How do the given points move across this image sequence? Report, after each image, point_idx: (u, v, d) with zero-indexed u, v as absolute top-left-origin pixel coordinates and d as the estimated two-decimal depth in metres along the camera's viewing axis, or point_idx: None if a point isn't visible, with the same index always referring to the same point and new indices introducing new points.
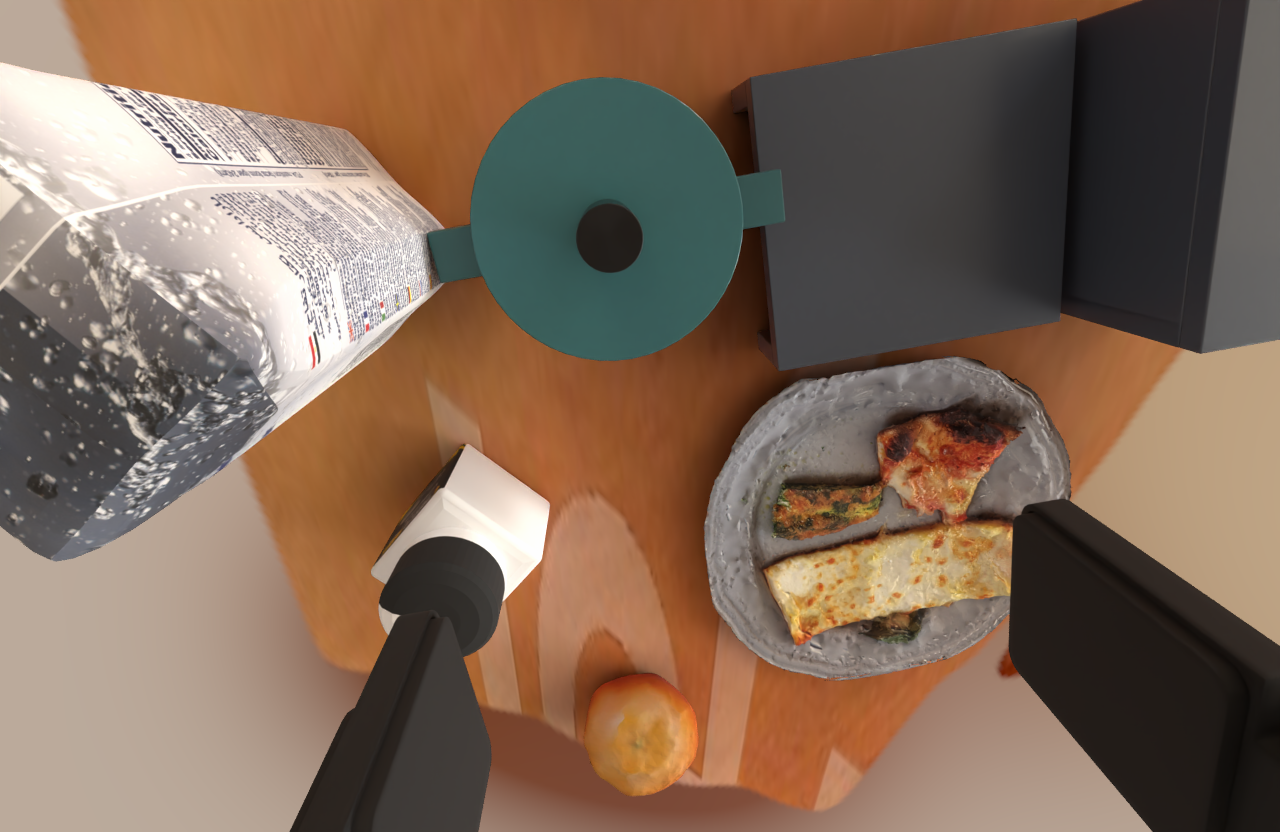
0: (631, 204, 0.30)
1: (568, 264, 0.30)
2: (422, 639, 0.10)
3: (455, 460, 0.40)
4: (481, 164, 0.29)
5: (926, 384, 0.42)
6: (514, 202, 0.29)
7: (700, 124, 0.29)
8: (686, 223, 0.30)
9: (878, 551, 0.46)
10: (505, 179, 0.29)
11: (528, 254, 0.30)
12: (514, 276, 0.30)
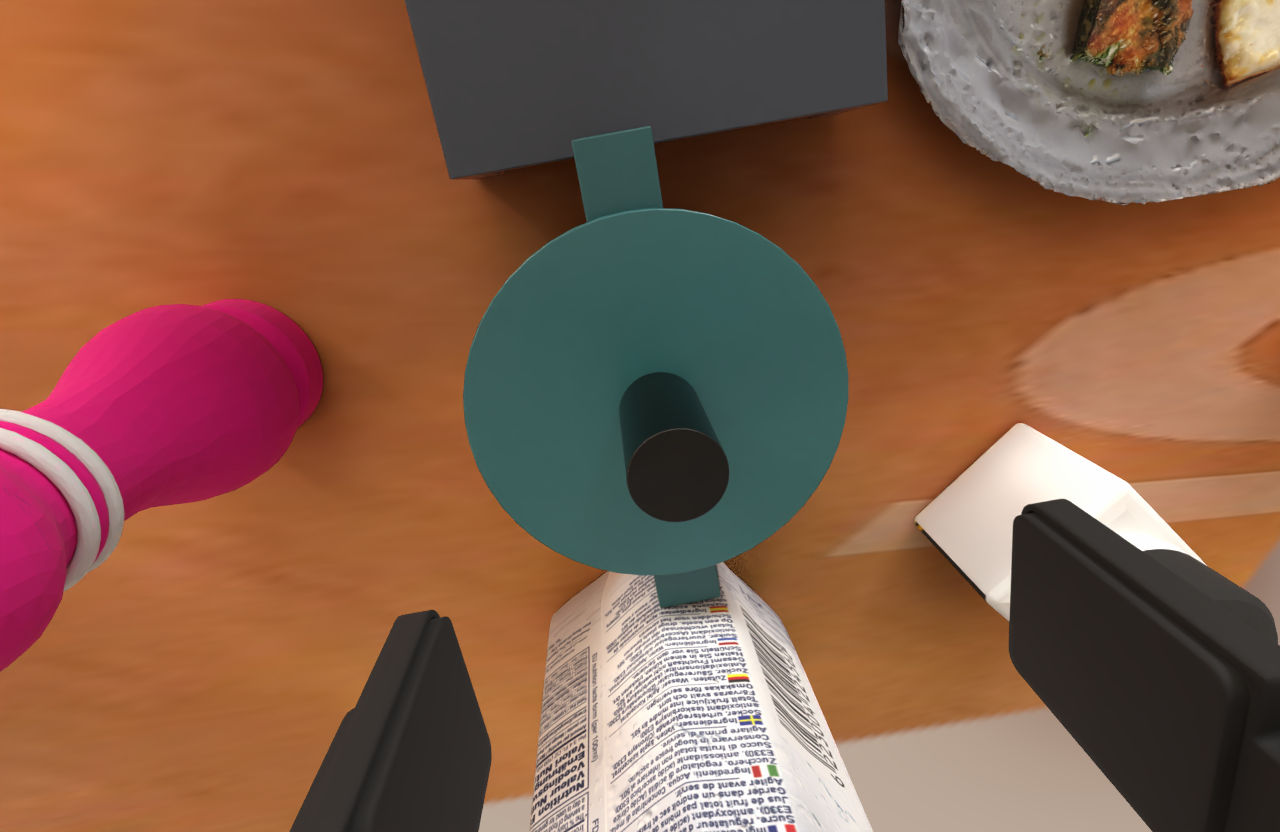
0: (625, 379, 0.21)
1: None
2: (422, 639, 0.10)
3: (940, 550, 0.31)
4: (579, 561, 0.23)
5: None
6: (624, 526, 0.22)
7: (513, 284, 0.19)
8: (652, 300, 0.20)
9: None
10: (596, 535, 0.23)
11: None
12: (717, 528, 0.23)
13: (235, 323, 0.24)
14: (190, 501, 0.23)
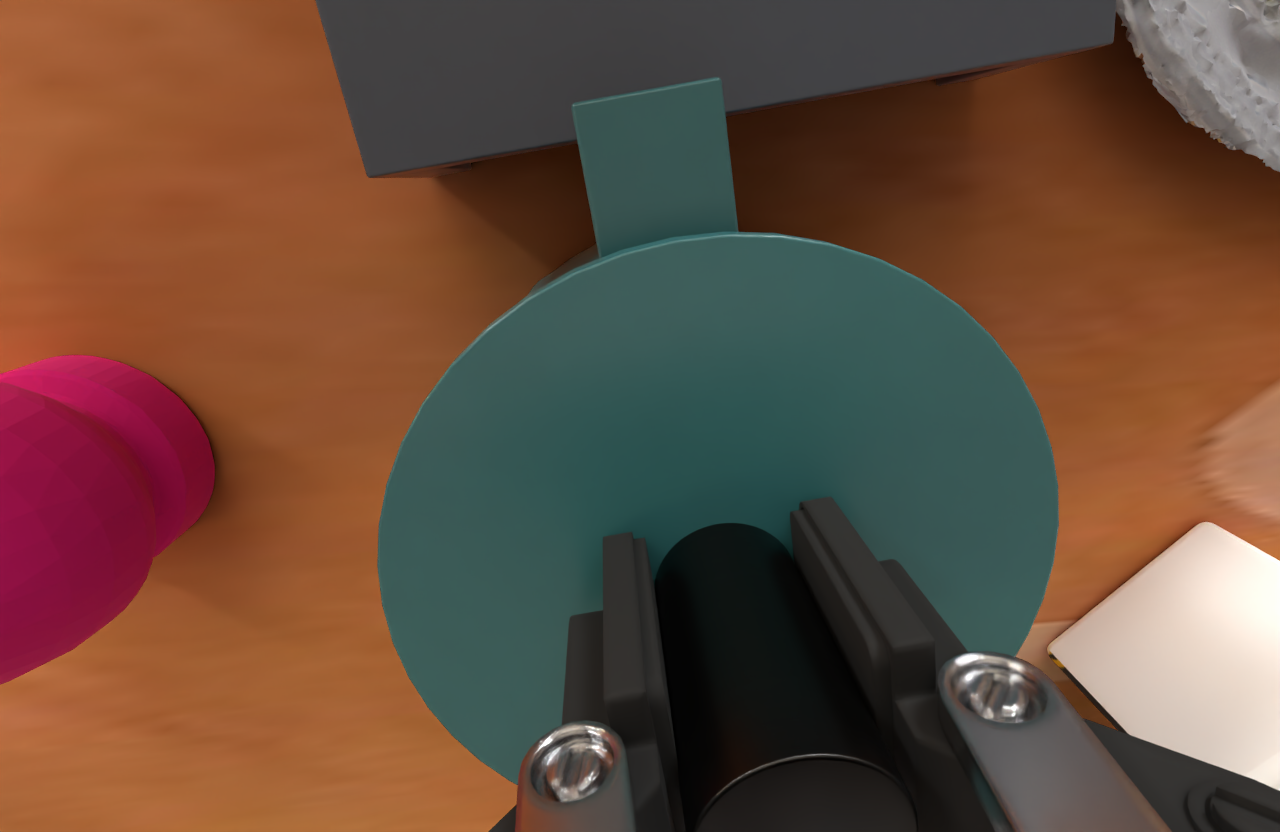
0: (667, 534, 0.12)
1: None
2: (634, 553, 0.11)
3: (1099, 707, 0.22)
4: None
5: None
6: None
7: (461, 374, 0.10)
8: (719, 400, 0.11)
9: None
10: None
11: None
12: None
13: (35, 408, 0.15)
14: None
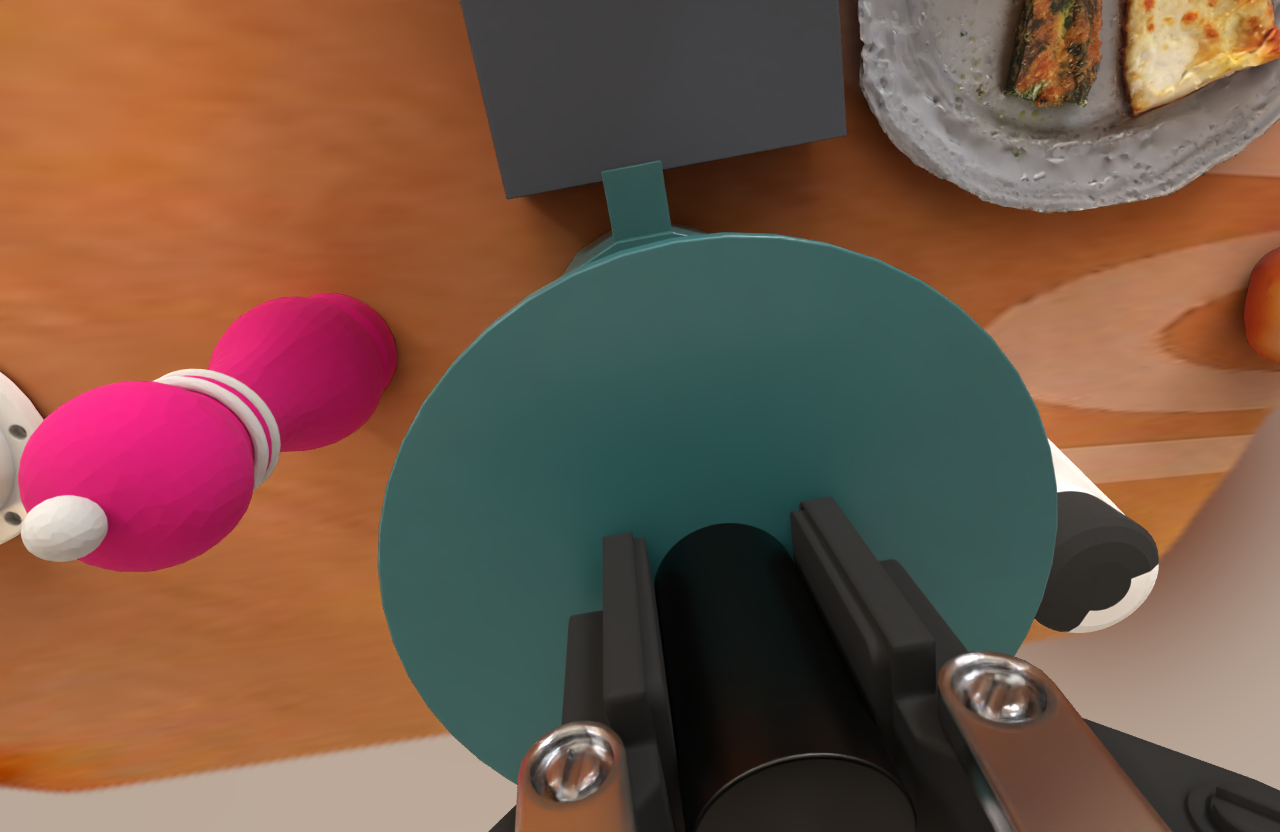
0: (666, 534, 0.12)
1: None
2: (633, 553, 0.11)
3: None
4: None
5: None
6: None
7: (461, 374, 0.10)
8: (718, 400, 0.11)
9: None
10: None
11: None
12: None
13: (338, 311, 0.31)
14: (305, 449, 0.30)
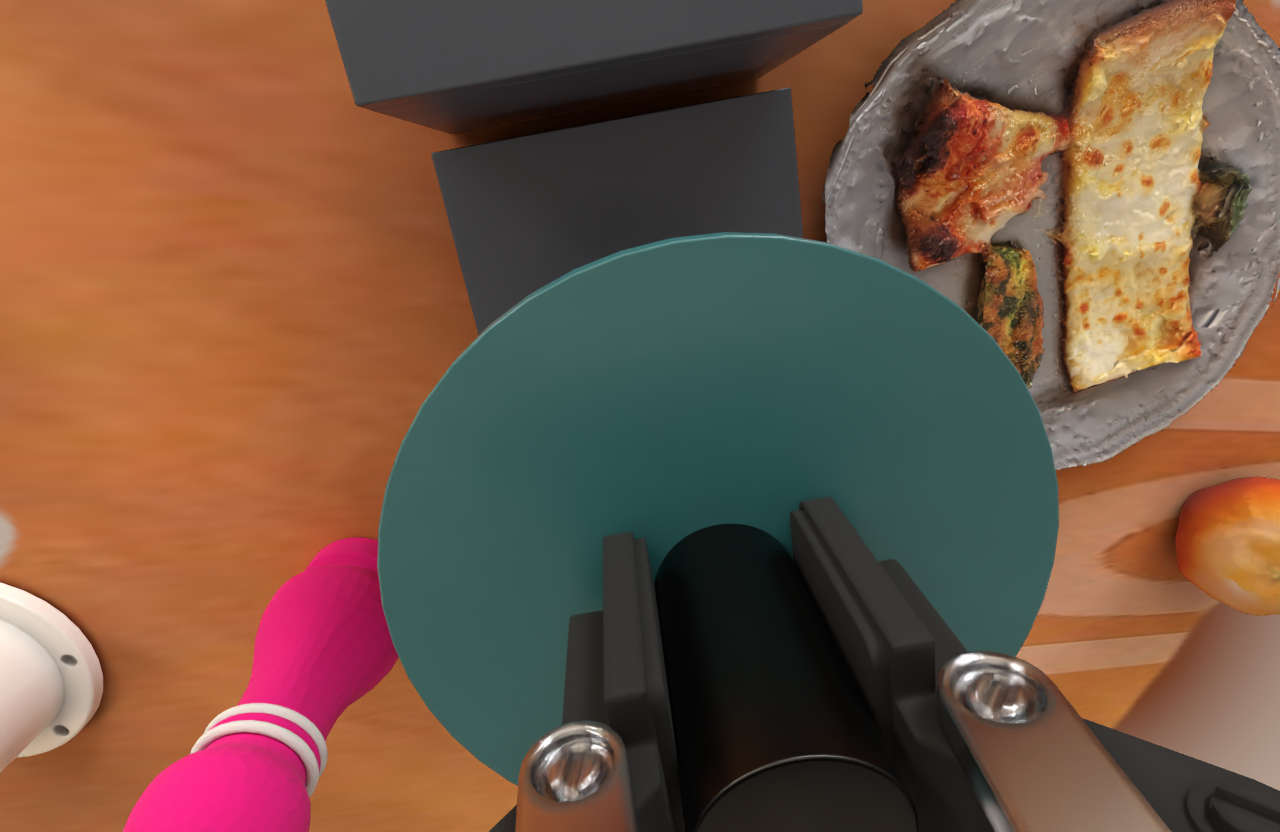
0: (667, 535, 0.12)
1: None
2: (634, 553, 0.11)
3: None
4: None
5: (857, 211, 0.33)
6: None
7: (461, 375, 0.10)
8: (719, 400, 0.11)
9: (1086, 246, 0.34)
10: None
11: None
12: None
13: (368, 580, 0.34)
14: None
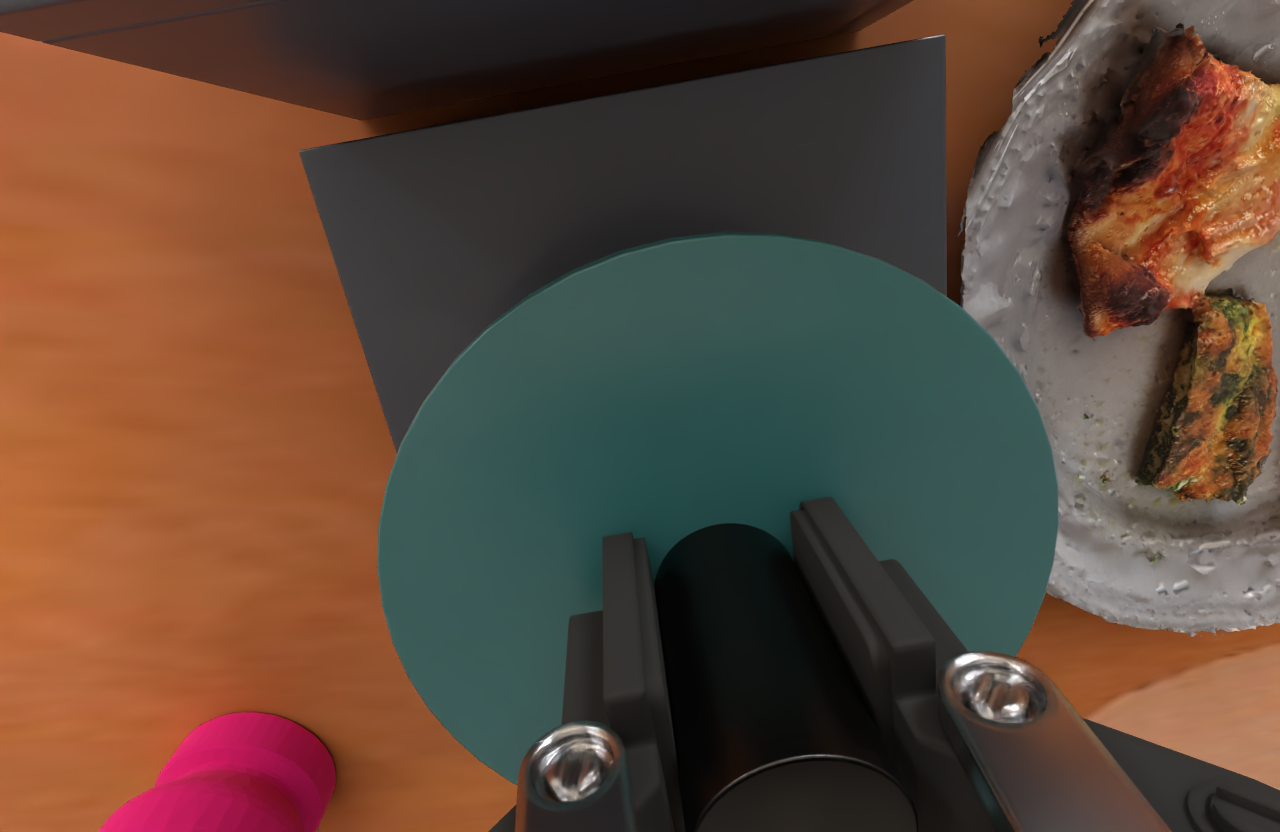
0: (667, 535, 0.12)
1: None
2: (633, 553, 0.11)
3: None
4: None
5: (1007, 244, 0.21)
6: None
7: (461, 375, 0.10)
8: (719, 401, 0.11)
9: None
10: None
11: None
12: None
13: (244, 808, 0.22)
14: None
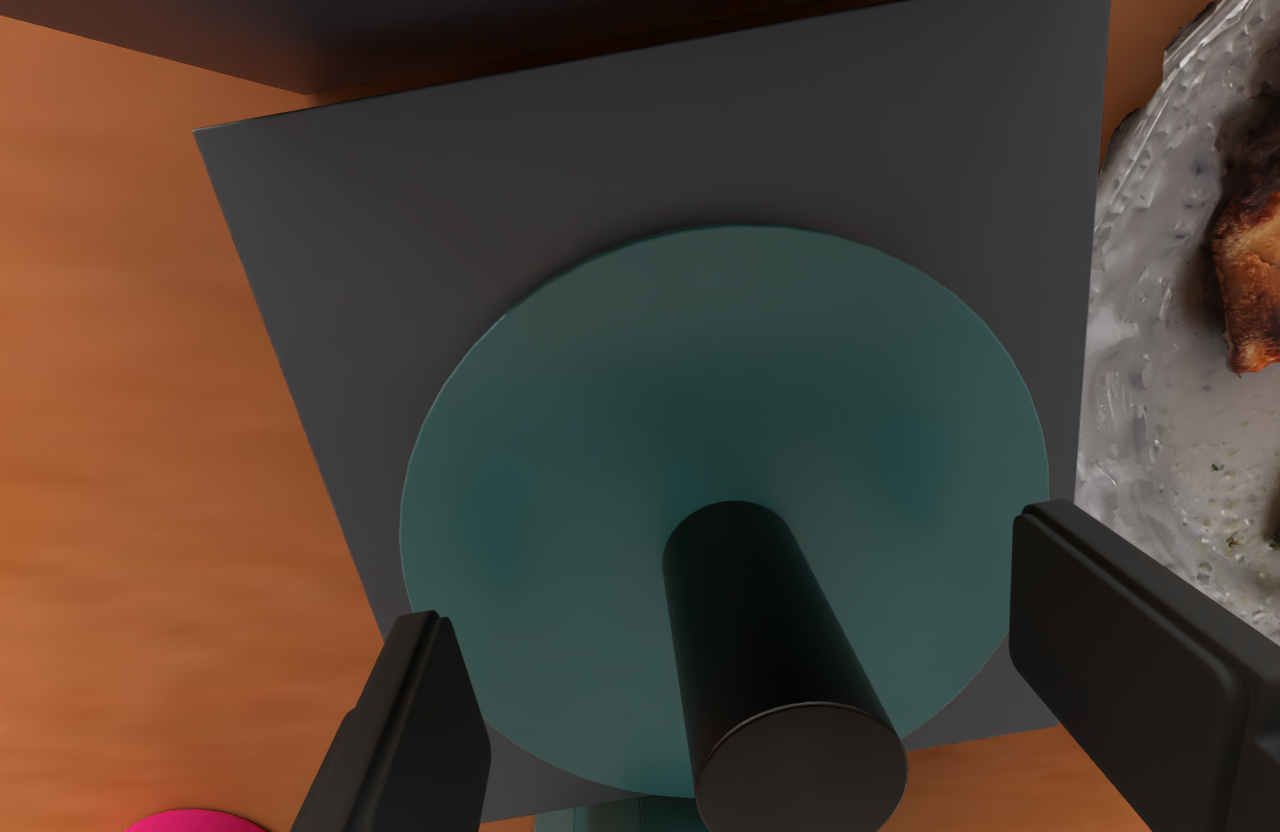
0: (674, 511, 0.12)
1: None
2: (422, 639, 0.10)
3: None
4: (593, 779, 0.14)
5: (1135, 255, 0.16)
6: (666, 730, 0.14)
7: (480, 357, 0.11)
8: (724, 383, 0.11)
9: None
10: (620, 744, 0.14)
11: None
12: None
13: None
14: None
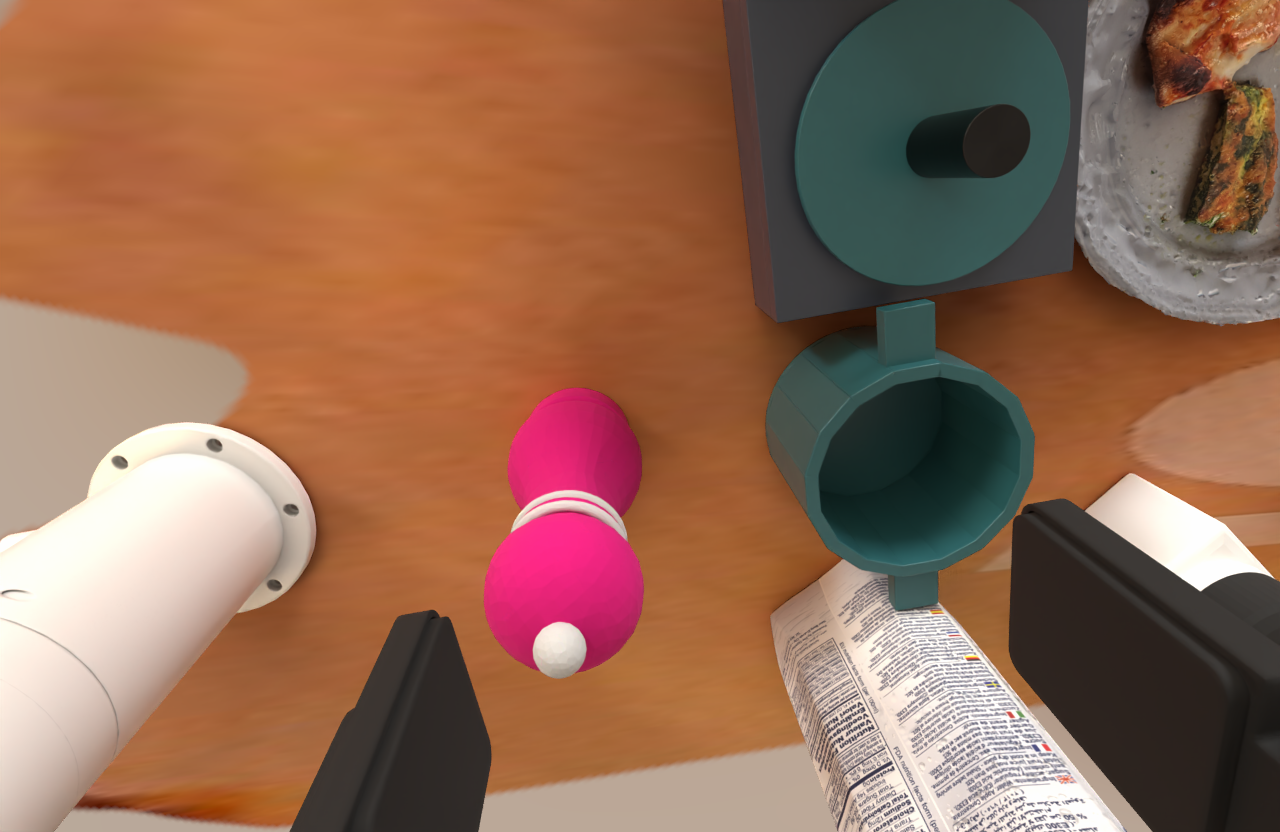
0: (914, 120, 0.29)
1: (961, 191, 0.30)
2: (422, 639, 0.10)
3: None
4: (859, 271, 0.31)
5: (1108, 43, 0.33)
6: (896, 242, 0.31)
7: (848, 42, 0.28)
8: (941, 57, 0.28)
9: None
10: (875, 250, 0.31)
11: (945, 231, 0.31)
12: (962, 247, 0.31)
13: (613, 414, 0.35)
14: None
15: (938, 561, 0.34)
